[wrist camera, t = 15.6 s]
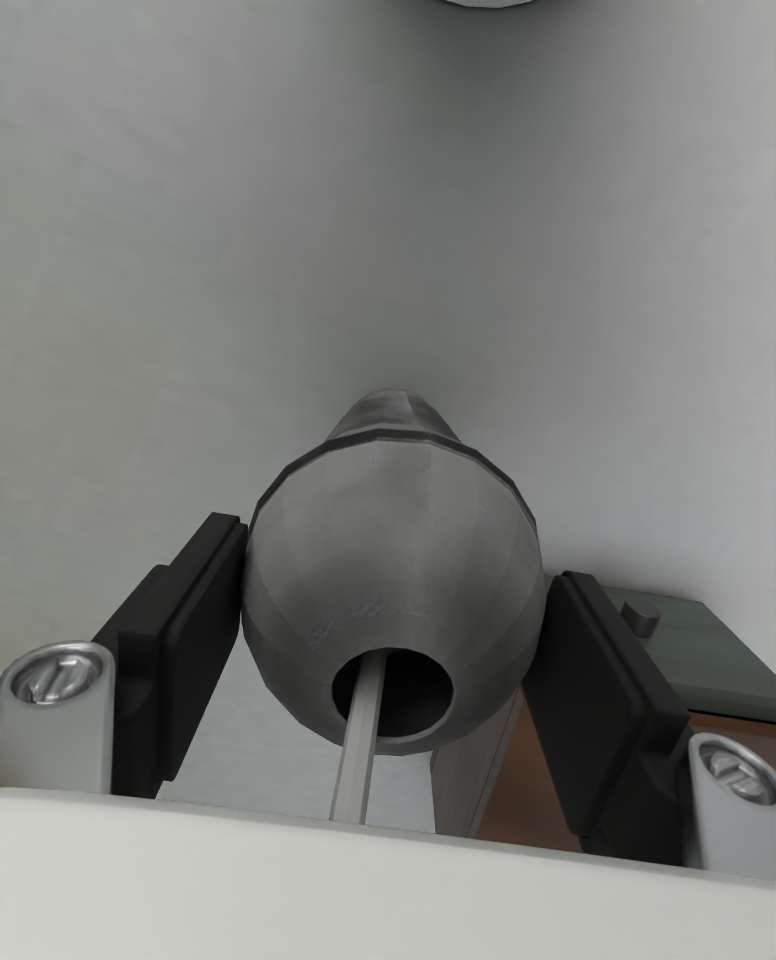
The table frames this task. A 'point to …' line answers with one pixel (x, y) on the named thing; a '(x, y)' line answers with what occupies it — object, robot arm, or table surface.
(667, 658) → the drawer
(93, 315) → the table surface
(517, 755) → the cabinet
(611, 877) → the robot arm
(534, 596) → the beverage cup
